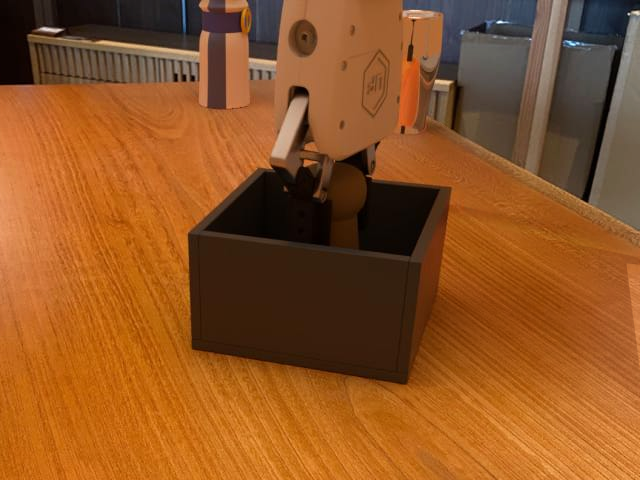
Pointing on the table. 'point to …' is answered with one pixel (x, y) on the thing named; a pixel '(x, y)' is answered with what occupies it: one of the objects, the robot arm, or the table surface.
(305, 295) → the bin
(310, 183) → the robot arm
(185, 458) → the table surface
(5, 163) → the table surface
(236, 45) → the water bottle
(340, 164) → the cork
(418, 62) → the beer glass
